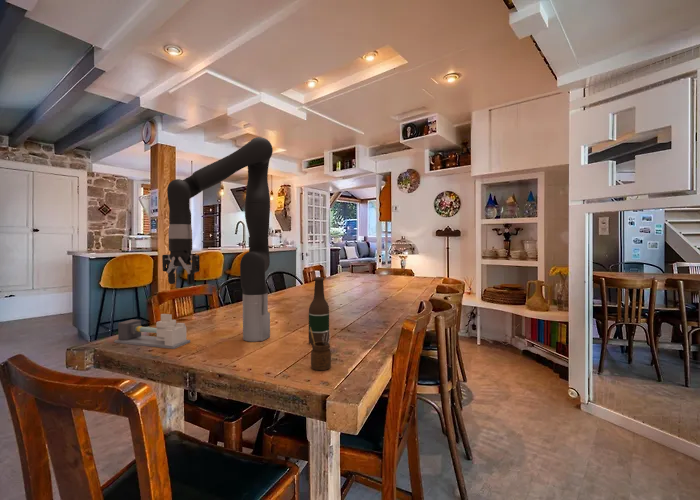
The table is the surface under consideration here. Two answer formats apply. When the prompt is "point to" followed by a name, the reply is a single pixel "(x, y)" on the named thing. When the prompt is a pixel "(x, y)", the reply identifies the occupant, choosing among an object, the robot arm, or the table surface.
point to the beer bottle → (319, 314)
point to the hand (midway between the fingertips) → (181, 284)
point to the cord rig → (132, 335)
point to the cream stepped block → (164, 325)
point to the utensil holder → (320, 354)
